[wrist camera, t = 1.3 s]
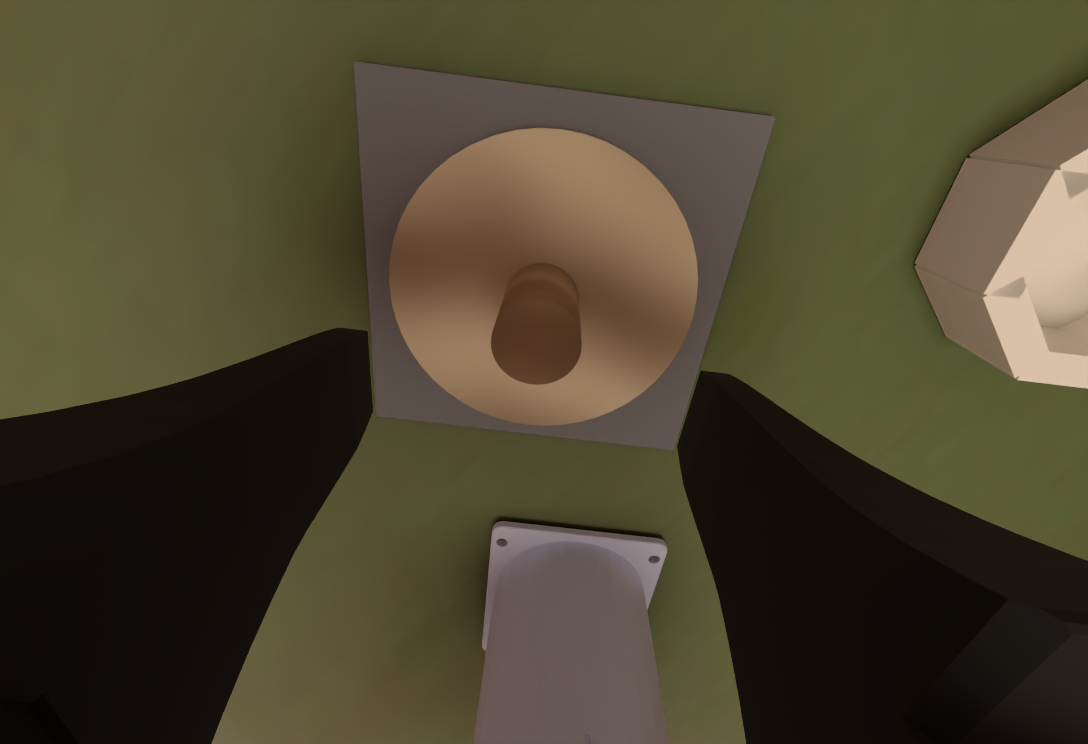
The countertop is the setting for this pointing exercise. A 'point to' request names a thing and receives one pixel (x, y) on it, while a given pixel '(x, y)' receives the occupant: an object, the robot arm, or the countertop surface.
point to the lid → (543, 276)
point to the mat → (500, 106)
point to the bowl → (1019, 248)
